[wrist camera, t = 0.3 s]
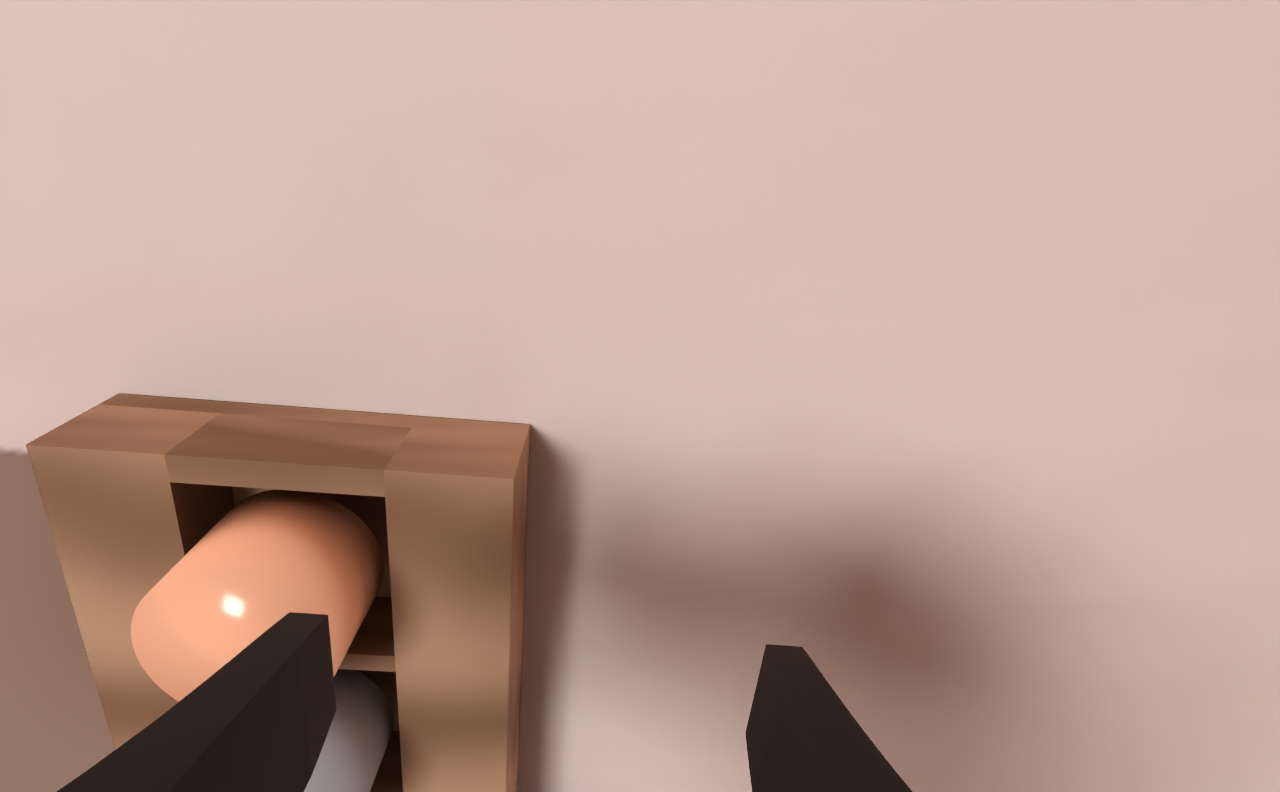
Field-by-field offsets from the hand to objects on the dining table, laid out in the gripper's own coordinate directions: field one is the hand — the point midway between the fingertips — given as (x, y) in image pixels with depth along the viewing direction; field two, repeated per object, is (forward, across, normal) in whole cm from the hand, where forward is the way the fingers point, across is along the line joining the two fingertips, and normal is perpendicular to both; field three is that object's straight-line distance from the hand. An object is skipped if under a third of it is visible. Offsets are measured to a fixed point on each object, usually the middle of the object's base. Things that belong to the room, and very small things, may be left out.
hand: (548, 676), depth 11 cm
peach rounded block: (+7, +7, +4) cm, 11 cm away
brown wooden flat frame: (+10, +8, +10) cm, 16 cm away
